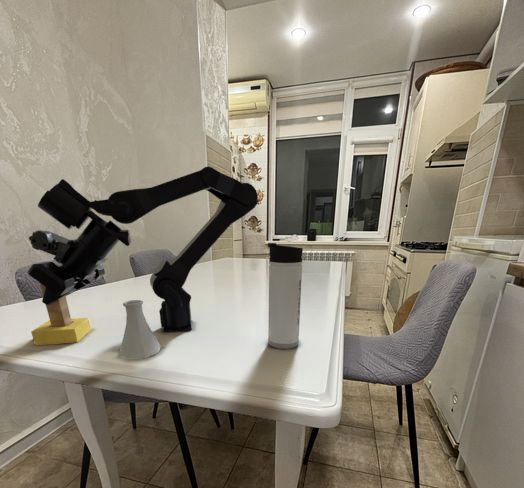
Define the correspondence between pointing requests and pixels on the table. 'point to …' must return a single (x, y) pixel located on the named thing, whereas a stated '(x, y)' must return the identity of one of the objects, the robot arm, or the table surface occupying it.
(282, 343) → the travel mug
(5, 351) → the table surface
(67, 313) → the peg
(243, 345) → the table surface
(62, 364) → the table surface
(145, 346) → the flask
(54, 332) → the holder
